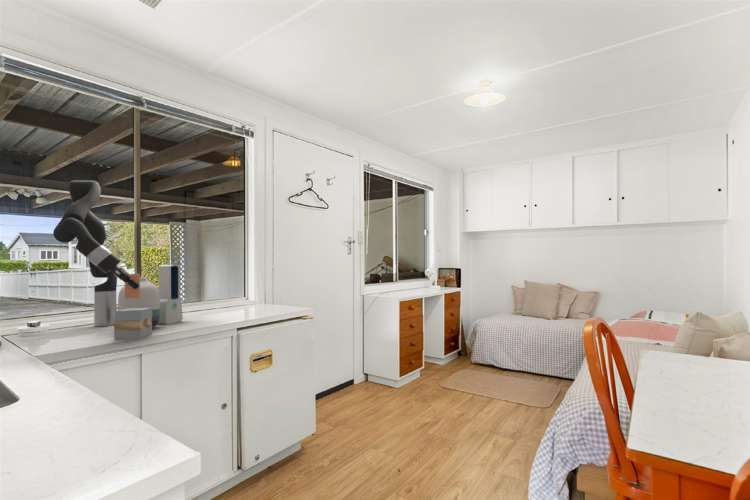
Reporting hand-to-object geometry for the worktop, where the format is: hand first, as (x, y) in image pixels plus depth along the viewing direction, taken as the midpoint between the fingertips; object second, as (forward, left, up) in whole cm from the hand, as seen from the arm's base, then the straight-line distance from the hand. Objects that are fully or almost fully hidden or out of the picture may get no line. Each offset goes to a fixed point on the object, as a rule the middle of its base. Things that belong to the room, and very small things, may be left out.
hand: (137, 287), depth 163 cm
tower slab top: (0, -1, -13) cm, 13 cm away
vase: (-21, -9, -21) cm, 31 cm away
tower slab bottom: (0, -2, -21) cm, 21 cm away
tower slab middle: (0, -2, -17) cm, 17 cm away
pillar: (+1, -2, -4) cm, 5 cm away
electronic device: (-37, -2, -21) cm, 43 cm away
